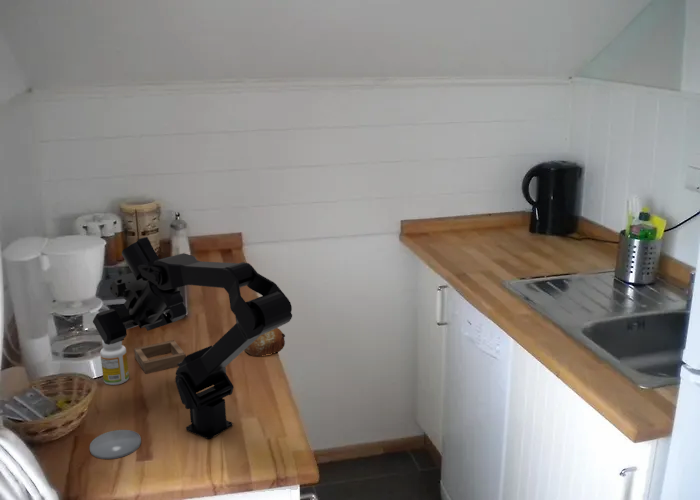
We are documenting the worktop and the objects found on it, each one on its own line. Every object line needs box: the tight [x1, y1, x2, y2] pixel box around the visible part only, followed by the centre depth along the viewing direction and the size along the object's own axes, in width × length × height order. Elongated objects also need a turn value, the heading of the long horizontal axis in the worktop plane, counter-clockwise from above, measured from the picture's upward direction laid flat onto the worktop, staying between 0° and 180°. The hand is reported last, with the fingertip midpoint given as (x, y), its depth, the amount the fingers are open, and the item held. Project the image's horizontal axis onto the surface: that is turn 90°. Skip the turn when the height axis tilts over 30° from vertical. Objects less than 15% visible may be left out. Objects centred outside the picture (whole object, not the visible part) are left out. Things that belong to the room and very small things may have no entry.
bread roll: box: [244, 327, 286, 357], centre depth 174 cm, size 10×10×8 cm
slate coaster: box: [89, 429, 142, 460], centre depth 133 cm, size 9×9×1 cm
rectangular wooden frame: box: [133, 339, 187, 374], centre depth 167 cm, size 9×9×2 cm
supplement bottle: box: [99, 339, 130, 386], centre depth 158 cm, size 5×5×10 cm
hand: (128, 335), depth 151 cm, fingers open, 9 cm apart
